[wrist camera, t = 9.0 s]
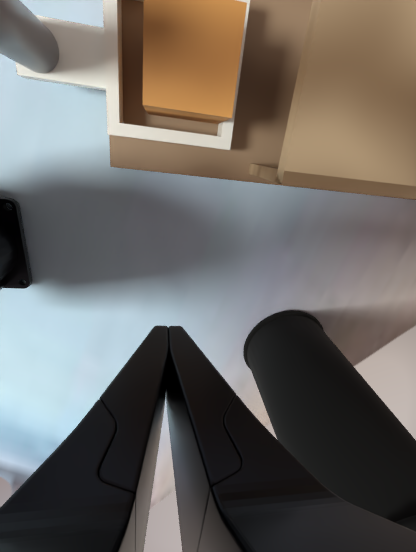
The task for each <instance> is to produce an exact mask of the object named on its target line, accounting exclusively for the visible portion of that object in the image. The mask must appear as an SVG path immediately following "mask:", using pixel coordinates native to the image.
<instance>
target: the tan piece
mask: <svg viewBox="0 0 416 552" xmlns="http://www.w3.org/2000/svg"><path fill="white" fill-rule="evenodd" d="M121 9H122V78H123V124H131V125H138V126H146V127H153V128H160V129H168V130H175V131H182V132H190V133H197V134H204V135H212V136H217V133H218V124H213V123H206V122H199V121H192V120H185V119H178V118H171V117H164V116H157V115H150V114H148V113H147V112H146V110H145V108H144V106H143V17H144V2H140V1H135V0H121ZM110 165H111V167H117V168H127V169H136V170H145V171H154V172H163V173H173V174H182V175H191V176H200V177H210V178H219V179H228V180H237V181H246V182H256V183H265V184H274V185H283V186H293V187H302V188H311V189H320V190H329V191H339V192H348V193H357V194H366V195H376V196H385V197H394V198H403V199H412V200H416V0H250V6H249V13H248V20H247V28H246V35H245V43H244V50H243V58H242V65H241V73H240V80H239V87H238V95H237V102H236V110H235V117H234V125H233V132H232V140H231V147H230V150H224V149H216V148H208V147H200V146H193V145H185V144H177V143H169V142H161V141H153V140H146V139H138V138H130V137H122V136H114V135H110Z"/></svg>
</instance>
